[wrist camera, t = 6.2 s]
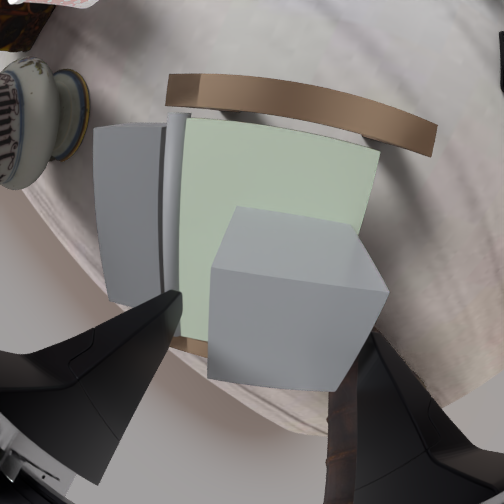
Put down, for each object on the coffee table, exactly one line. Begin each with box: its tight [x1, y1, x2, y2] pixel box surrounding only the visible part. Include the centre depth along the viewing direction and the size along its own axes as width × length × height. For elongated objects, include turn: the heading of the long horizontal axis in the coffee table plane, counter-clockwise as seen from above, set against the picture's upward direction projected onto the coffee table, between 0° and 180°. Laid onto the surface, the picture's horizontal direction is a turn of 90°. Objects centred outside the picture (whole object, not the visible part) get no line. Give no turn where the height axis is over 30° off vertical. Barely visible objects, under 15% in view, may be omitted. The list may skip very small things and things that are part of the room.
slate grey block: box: [207, 206, 390, 392], centre depth 10 cm, size 5×5×5 cm
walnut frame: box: [165, 74, 438, 358], centre depth 16 cm, size 12×16×8 cm
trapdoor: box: [93, 113, 380, 341], centre depth 15 cm, size 14×12×5 cm
